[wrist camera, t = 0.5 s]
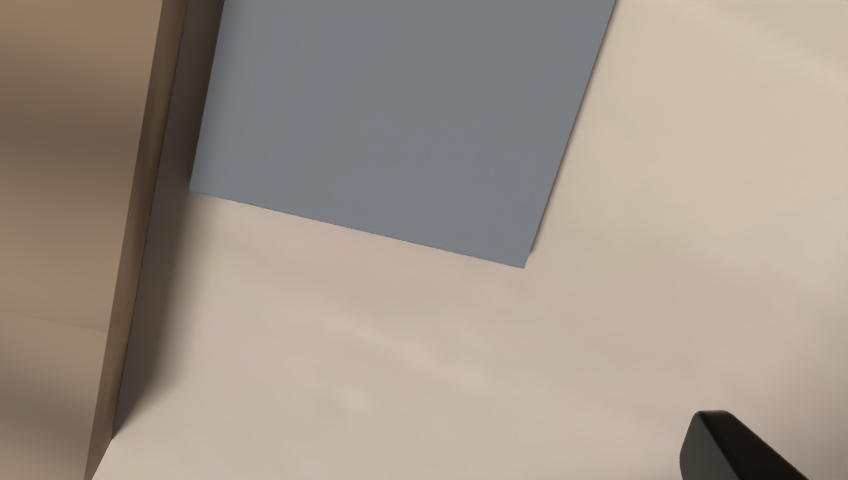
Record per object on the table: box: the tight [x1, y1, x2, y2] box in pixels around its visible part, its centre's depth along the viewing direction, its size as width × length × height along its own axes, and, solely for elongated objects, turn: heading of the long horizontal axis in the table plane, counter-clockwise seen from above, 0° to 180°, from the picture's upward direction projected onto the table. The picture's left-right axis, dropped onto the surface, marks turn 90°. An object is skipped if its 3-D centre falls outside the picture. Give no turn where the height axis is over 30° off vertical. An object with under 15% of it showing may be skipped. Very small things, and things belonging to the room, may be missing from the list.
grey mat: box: [189, 0, 616, 269], centre depth 22 cm, size 10×10×1 cm
